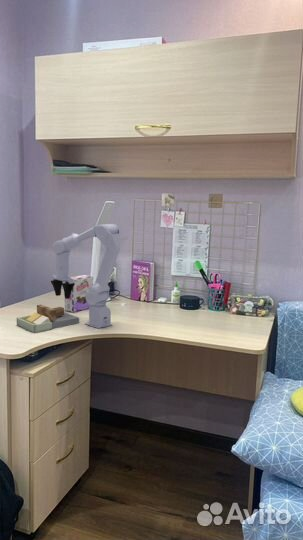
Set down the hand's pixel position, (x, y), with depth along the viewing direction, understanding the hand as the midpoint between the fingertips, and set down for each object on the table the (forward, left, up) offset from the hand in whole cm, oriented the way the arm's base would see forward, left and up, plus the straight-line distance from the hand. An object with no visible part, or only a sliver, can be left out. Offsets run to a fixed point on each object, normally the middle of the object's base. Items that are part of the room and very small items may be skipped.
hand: (62, 296), depth 193 cm
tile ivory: (-8, +15, -8) cm, 18 cm away
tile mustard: (-2, +15, -8) cm, 17 cm away
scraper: (-5, +8, -7) cm, 11 cm away
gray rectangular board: (-4, +10, -10) cm, 15 cm away
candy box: (+9, -15, -10) cm, 20 cm away
